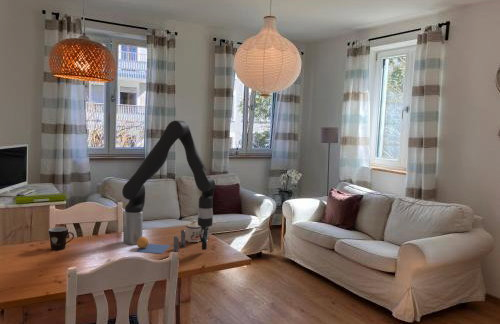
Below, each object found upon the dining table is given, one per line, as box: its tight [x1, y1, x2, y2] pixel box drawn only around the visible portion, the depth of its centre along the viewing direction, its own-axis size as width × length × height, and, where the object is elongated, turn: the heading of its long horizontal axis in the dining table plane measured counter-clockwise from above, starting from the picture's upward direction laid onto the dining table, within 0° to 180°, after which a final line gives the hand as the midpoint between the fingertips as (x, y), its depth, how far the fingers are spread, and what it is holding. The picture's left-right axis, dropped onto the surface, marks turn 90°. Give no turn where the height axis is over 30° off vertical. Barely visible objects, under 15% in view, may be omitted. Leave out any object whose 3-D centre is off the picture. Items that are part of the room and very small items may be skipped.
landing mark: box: [134, 243, 171, 255], centre depth 208 cm, size 14×14×1 cm
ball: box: [136, 236, 150, 249], centre depth 208 cm, size 6×6×6 cm
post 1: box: [172, 235, 180, 253], centre depth 200 cm, size 2×2×9 cm
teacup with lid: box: [185, 219, 202, 243], centre depth 225 cm, size 12×9×12 cm
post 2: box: [180, 229, 187, 248], centre depth 212 cm, size 2×2×9 cm
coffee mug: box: [48, 226, 75, 252], centre depth 200 cm, size 12×9×10 cm
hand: (204, 249), depth 205 cm, fingers closed
